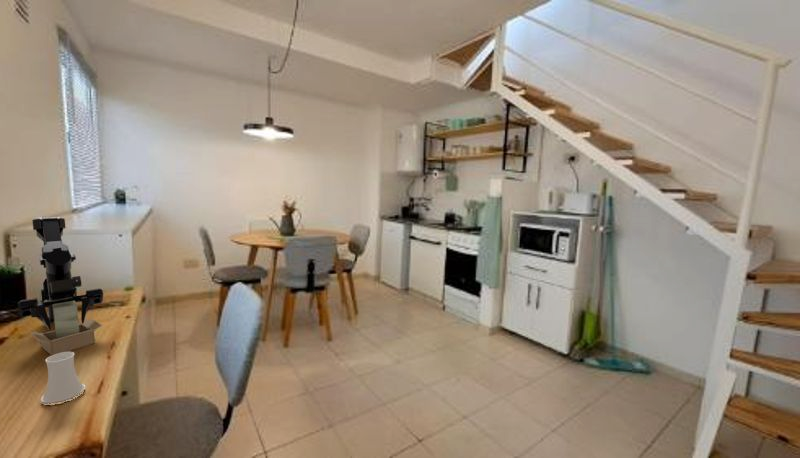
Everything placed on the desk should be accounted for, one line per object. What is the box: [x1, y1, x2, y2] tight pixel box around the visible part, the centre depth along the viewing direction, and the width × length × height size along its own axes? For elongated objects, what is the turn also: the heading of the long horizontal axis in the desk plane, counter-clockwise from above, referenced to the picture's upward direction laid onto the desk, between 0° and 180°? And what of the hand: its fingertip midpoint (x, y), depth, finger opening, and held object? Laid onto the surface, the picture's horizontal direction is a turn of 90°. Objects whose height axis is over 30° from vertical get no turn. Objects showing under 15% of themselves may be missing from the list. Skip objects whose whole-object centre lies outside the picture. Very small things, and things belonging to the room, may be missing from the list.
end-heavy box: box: [52, 301, 80, 339], centre depth 105 cm, size 5×5×13 cm
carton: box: [29, 317, 102, 356], centre depth 105 cm, size 12×14×5 cm
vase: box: [40, 351, 86, 405], centre depth 81 cm, size 8×8×10 cm
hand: (66, 325), depth 104 cm, fingers open, 7 cm apart
